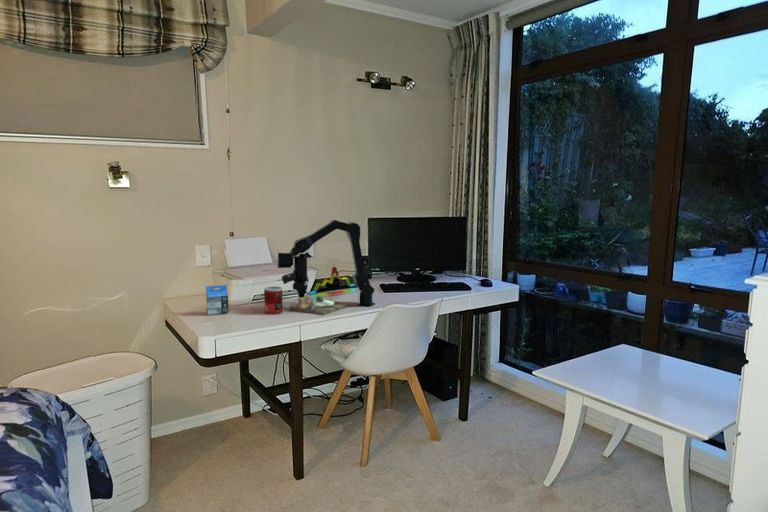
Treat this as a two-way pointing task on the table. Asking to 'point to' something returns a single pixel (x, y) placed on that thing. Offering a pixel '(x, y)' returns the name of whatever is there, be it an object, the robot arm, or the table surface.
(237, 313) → the table surface
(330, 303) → the flange plate
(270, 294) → the canned food
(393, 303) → the table surface
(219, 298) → the label tape cartridge
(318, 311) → the beige square tray
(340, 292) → the chart
